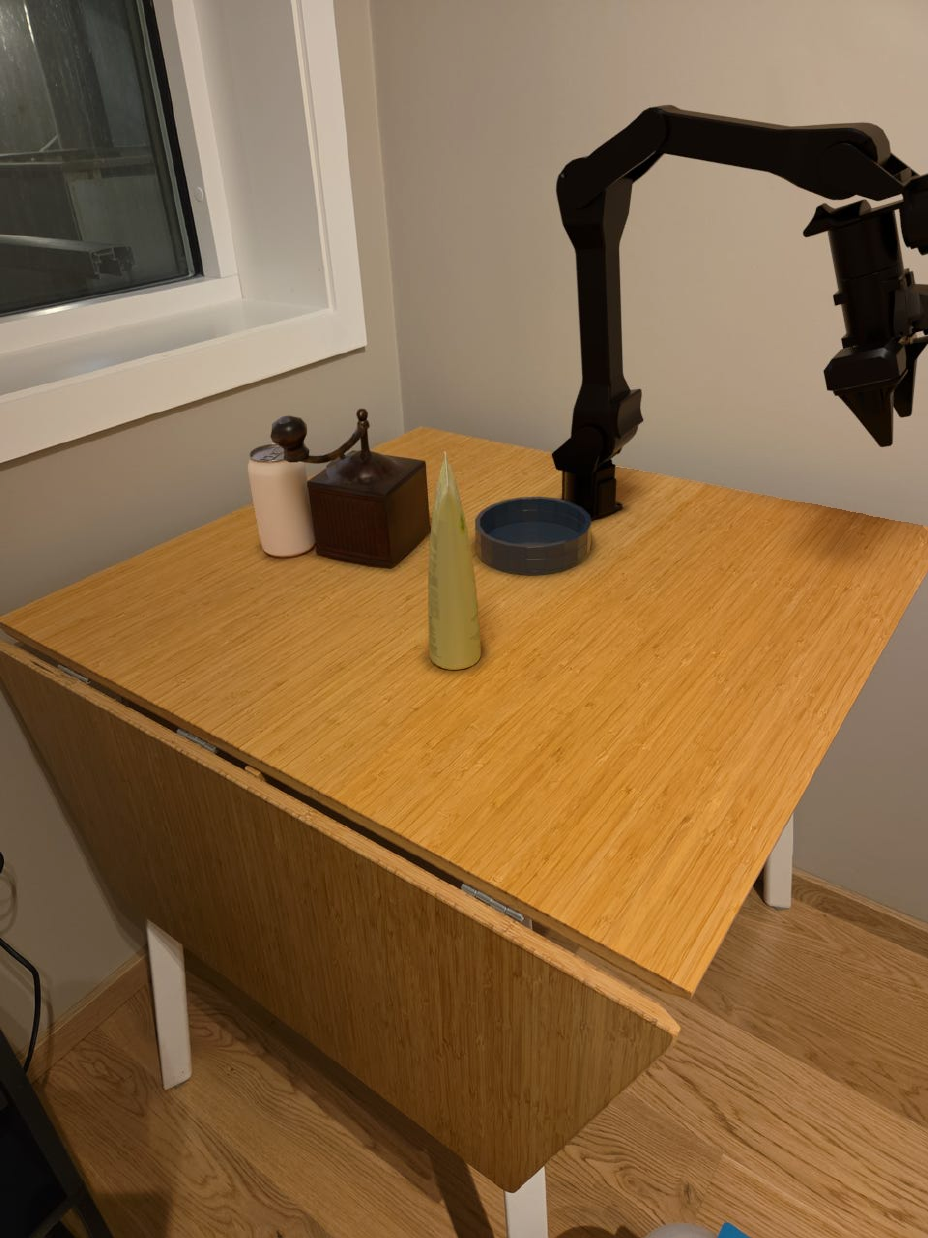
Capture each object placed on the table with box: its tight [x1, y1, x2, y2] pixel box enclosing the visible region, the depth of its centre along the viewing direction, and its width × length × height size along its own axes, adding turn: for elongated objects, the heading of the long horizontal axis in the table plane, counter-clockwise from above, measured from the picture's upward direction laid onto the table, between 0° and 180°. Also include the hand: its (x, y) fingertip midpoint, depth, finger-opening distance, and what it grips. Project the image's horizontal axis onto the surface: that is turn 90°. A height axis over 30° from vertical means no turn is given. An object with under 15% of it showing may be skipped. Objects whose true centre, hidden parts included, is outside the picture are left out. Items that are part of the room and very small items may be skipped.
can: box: [247, 442, 316, 559], centre depth 105 cm, size 6×6×12 cm
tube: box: [427, 450, 482, 671], centre depth 81 cm, size 6×5×20 cm
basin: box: [474, 496, 592, 576], centre depth 104 cm, size 13×13×4 cm
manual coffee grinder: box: [270, 408, 432, 569], centre depth 101 cm, size 16×11×18 cm
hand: (896, 430), depth 89 cm, fingers open, 9 cm apart
